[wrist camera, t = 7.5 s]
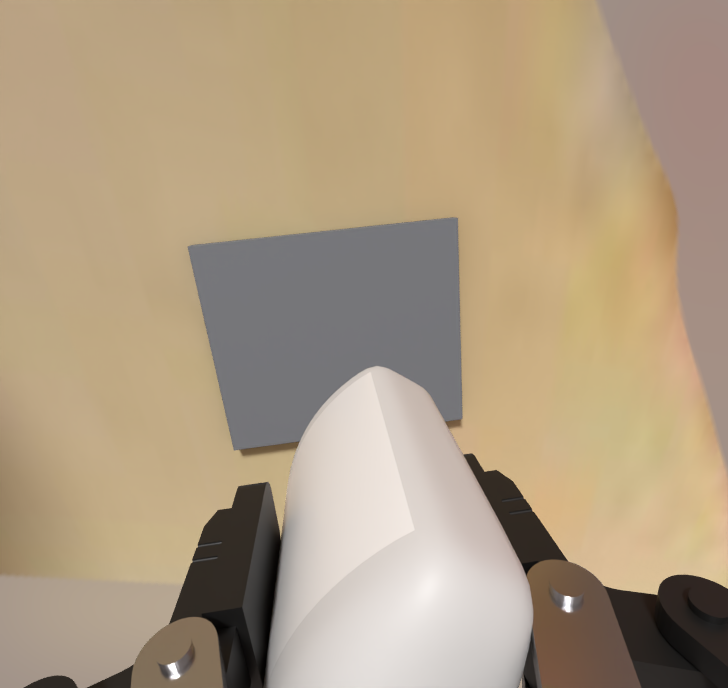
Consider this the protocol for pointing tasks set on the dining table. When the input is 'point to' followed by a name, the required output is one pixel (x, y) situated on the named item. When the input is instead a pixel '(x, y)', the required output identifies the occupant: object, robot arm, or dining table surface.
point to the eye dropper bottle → (392, 554)
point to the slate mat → (328, 320)
